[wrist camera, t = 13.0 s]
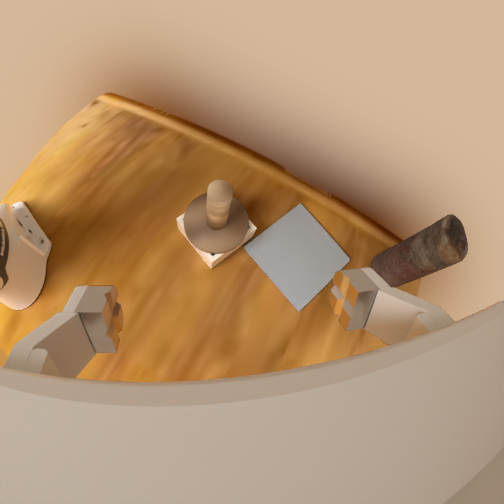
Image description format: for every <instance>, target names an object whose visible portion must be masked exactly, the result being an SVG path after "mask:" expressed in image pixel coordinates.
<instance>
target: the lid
mask: <svg viewBox="0 0 504 504" xmlns="http://www.w3.org/2000/svg"><path fill="white" fill-rule="evenodd" d="M248 228H249V217H248V214H247V211H246V209H245V207H244V206H243V205H242V203H241V202H240V201H239V200H238V199H236V198H235V197H233V187H232V185H231V184H230V183H229V182H228V181H226V180H221V179H219V180H215V181H213V182H211V183H210V184H209V186H208V189H207V193H206V194H203V195H200V196H199V197H197V198H196V199H194V200H193V201H192V202H191V203H190V204H189V206H188V207H187V209H186V212H185V215H184V229H185V233H186V236H187V238H188V239H189V241H190V242H191V243H192V244H193V245H194V246H195V247H196V248H198V249H199V250H201V251H204V252H207V253H211V254H222V253H226V252H229V251H231V250H233V249H235V248H236V247H238V246H239V245H240V244H241V243H242V241H243V240H244V238H245V236H246V234H247V231H248Z"/></svg>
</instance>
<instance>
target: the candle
mask: <svg viewBox="0 0 504 504" xmlns="http://www.w3.org/2000/svg"><path fill="white" fill-rule="evenodd" d="M467 251H468V243H467V238H466V234H465V231H464V227H463V225H462V223H461V221H460V220H459V219H458V218H457V217H456V216H454V215H452V214H451V215H447V216H445V217H444V218H442V219H441V220H439V221H437V222H435V223H434V224H432V225H431V226H429V227H427V228H425V229H423V230H422V231H420V232H418V233H417V234H415V235H413V236H411V237H409V238H407V239H406V240H404V241H402V242H400V243H398V244H397V245H395V246H393V247H391V248H389V249H387V250H385V251H383V252H382V253H380V254H378V255H376V256H375V257H374V258H373V259H372V262H371V268H372V269H373V270H374V271H375V272H376V273H377V274H378V275H379V276H380V277H381V278H382V279H383V280H384V281H385V282H386V283H387V284H388V285H389V286H390V287H391V288H392V287H397V286H400V285H403V284H406V283H408V282H411V281H413V280H416V279H418V278H421V277H424V276H426V275H428V274H431V273H434V272H436V271H439V270H441V269H444V268H446V267H448V266H451V265H454V264H456V263H458V262H460V261H462V260H463V259H464V258H465V256H466V254H467Z"/></svg>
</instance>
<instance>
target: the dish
mask: <svg viewBox="0 0 504 504" xmlns="http://www.w3.org/2000/svg"><path fill="white" fill-rule="evenodd" d="M184 215H185V213H184V214H182V215H181V216H179V217H178V218H176V220H177V225H178V229H179V230H180V231H181V233H182V234H183V235H184V236H185V238H186V239H187V240H188V241H189V239H188V238H187V236H186V233H185V229H184ZM256 229H257V228H256V227H255V226H254V224H253V223H252V222H251V221H250V220H249V228H248V231H247V234H246V236H245V238H244V240H243V241H242V243H241V244H240V245H239V246H238V247H236V248H235V249H233V250H231V251H229V252H226V253H222V254H211V253H207V252H204V251H201V250H199V249H198V248H196V247H195V246H194V245H193V244H192V243H191V242H190V241H189V243H190V244H191V245H192V246H193V248H194V249H195V250H196V251H197V253H198V254H199V255H200V256H201V258H202V259H203V260H204V261H205V262H206V264H207V265H208V266H209V267H210V269H212V268H213V267H215V266H216V265H217V264H219V263H220V262H221V261H222V260H224V259H225V258H226V257H228V256H229V255H230V254H231V253H233V252H234V251H235V250H237V249H238V248H239V247H240V246H242V245H243V244H244V243H246V242H247V241H248V240H250V239H251V238H252V237H253V235H254V233H255V231H256Z"/></svg>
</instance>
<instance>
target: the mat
mask: <svg viewBox="0 0 504 504" xmlns="http://www.w3.org/2000/svg"><path fill="white" fill-rule="evenodd" d="M244 249H245V250H246V252H247V253H248V254H249V255H250V256H251V257H252V259H253V260H254V261H255V262H256V263H257V264H258V266H259V267H260V268H261V269H262V270H263V271H264V272H265V274H266V275H267V276H268V277H269V278H270V279H271V281H272V282H273V283H274V284H275V285H276V286H277V287H278V289H279V290H280V291H281V292H282V293H283V294H284V296H285V297H286V298H287V299H288V300H289V301H290V302H291V304H292V305H293V306H294V307H295V308H296V309H297V310H298V311H300V310H301V309H302V308H303V307H304V306H305V305H306V304H307V303H309V302H310V301H311V300H312V299H313V298H314V297H315V296H316V295H317V294H318V293H319V292H320V291H321V290H322V289H323V288H324V287H325V286H326V285H327V284H328V283H329V282H330V281H331V279H332V278H333V277H334V274H335V272H336V271H340V270H341V269H342V268H343V267H344V266H345V265H346V264H347V263H348V262H349V261H350V259H349V257H348V256H347V255H346V254H345V253H344V251H343V250H342V249H341V248H340V247H339V246H338V244H337V243H336V242H335V241H334V240H333V239H332V237H331V236H330V235H329V234H328V233H327V232H326V231H325V230H324V228H323V227H322V226H321V225H320V224H319V223H318V222H317V221H316V219H315V218H314V217H313V216H312V215H311V214H310V213H309V212H308V211H307V210H306V208H305V207H304V206H303V205H302V204H301V203H300V204H299V205H297V206H296V207H295V208H294V209H292V210H291V211H290V212H288V213H287V214H286V215H284V216H283V217H282V218H281V219H279V220H278V221H277V222H275V223H274V224H273V225H271V226H270V227H269V228H268V229H266V230H265V231H264V232H262V233H261V234H260V235H259V236H257V237H256V238H255V239H253V240H252V241H251V242H249V243H248V244H247V245H246V246H244Z"/></svg>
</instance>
